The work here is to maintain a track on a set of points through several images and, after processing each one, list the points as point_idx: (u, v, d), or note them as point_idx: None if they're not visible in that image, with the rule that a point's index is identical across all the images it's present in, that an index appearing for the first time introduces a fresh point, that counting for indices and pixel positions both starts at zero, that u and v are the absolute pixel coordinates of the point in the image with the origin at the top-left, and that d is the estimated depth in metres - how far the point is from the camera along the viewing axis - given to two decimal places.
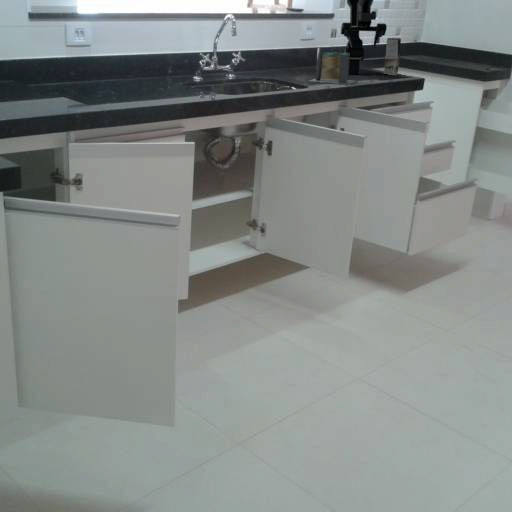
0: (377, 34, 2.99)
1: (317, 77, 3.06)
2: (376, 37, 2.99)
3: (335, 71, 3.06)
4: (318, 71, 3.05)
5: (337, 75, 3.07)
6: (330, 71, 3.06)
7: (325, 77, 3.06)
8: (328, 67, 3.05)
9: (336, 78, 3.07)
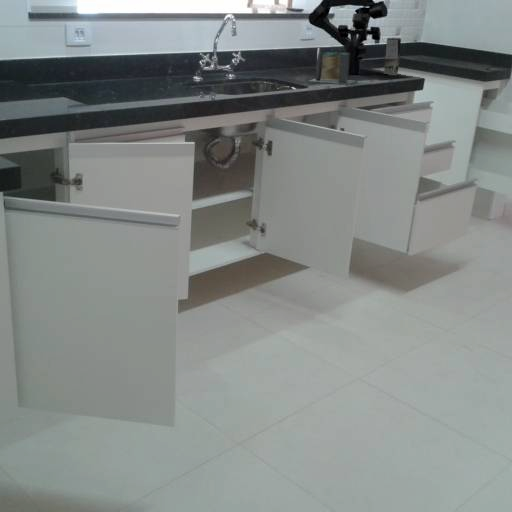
0: (359, 35, 3.15)
1: (317, 77, 3.06)
2: (358, 38, 3.15)
3: (335, 71, 3.06)
4: (318, 71, 3.05)
5: (337, 75, 3.07)
6: (330, 71, 3.06)
7: (325, 77, 3.06)
8: (328, 67, 3.05)
9: (336, 78, 3.07)
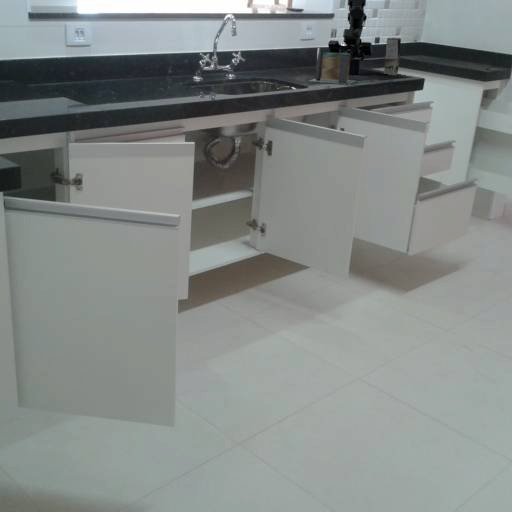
0: (351, 51, 3.05)
1: (317, 77, 3.06)
2: (350, 53, 3.05)
3: (335, 71, 3.05)
4: (318, 71, 3.05)
5: (337, 75, 3.06)
6: (330, 71, 3.05)
7: (325, 77, 3.06)
8: (328, 67, 3.05)
9: (336, 78, 3.06)
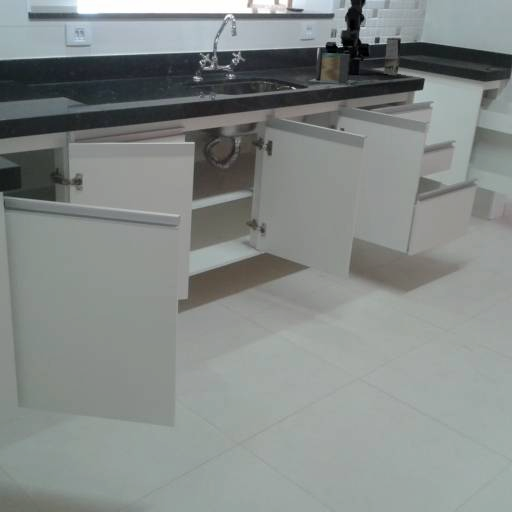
0: (350, 52, 3.02)
1: (317, 77, 3.06)
2: None
3: (334, 72, 3.03)
4: (318, 71, 3.05)
5: (336, 76, 3.03)
6: (329, 72, 3.04)
7: (324, 77, 3.05)
8: (328, 68, 3.03)
9: (335, 79, 3.04)
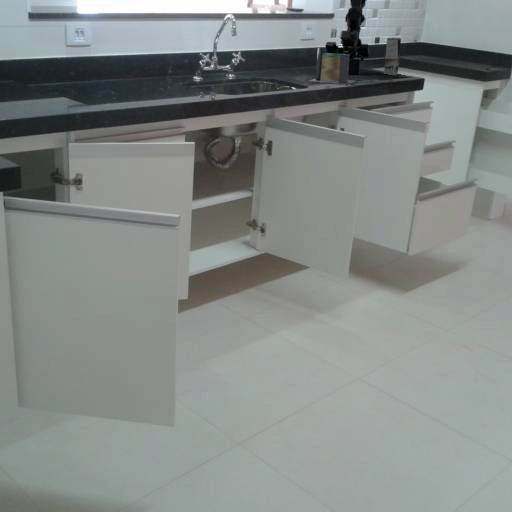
0: (349, 52, 3.03)
1: (317, 77, 3.06)
2: None
3: (334, 72, 3.03)
4: (318, 71, 3.05)
5: (336, 76, 3.03)
6: (329, 72, 3.03)
7: (324, 77, 3.05)
8: (327, 68, 3.03)
9: (335, 79, 3.03)
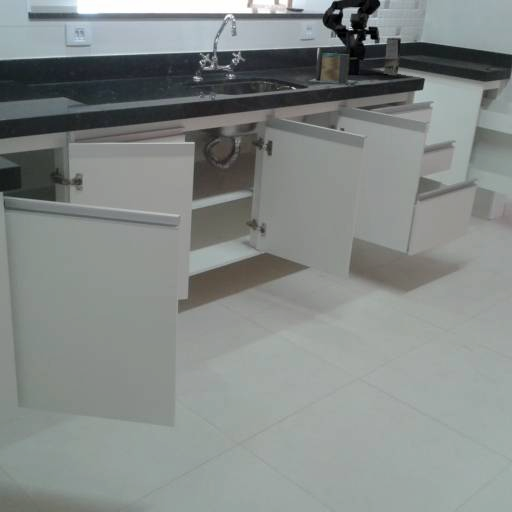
0: (358, 35, 3.13)
1: (317, 77, 3.06)
2: (357, 38, 3.13)
3: (334, 72, 3.03)
4: (318, 71, 3.05)
5: (336, 76, 3.03)
6: (329, 72, 3.03)
7: (324, 77, 3.05)
8: (327, 68, 3.03)
9: (335, 79, 3.03)
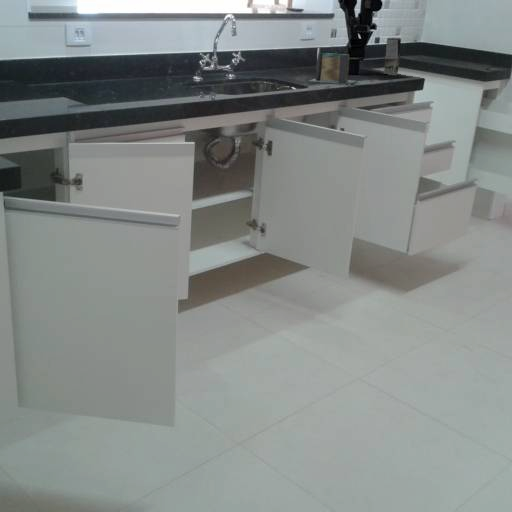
0: None
1: (317, 77, 3.06)
2: None
3: (334, 72, 3.03)
4: (318, 71, 3.05)
5: (336, 76, 3.03)
6: (329, 72, 3.03)
7: (324, 77, 3.05)
8: (327, 68, 3.03)
9: (335, 79, 3.03)
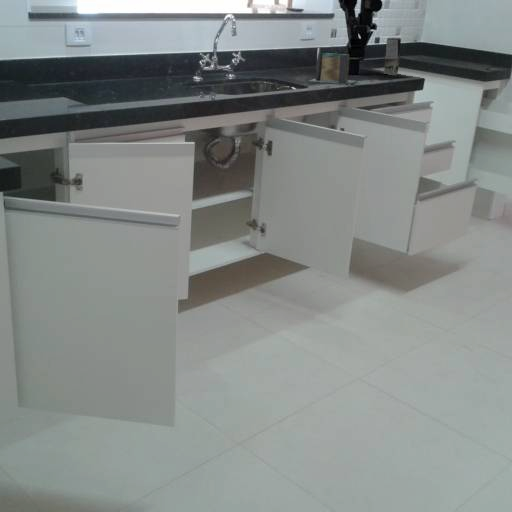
0: None
1: (317, 77, 3.06)
2: None
3: (334, 72, 3.03)
4: (318, 71, 3.05)
5: (336, 76, 3.03)
6: (329, 72, 3.03)
7: (324, 77, 3.05)
8: (327, 68, 3.03)
9: (335, 79, 3.03)
